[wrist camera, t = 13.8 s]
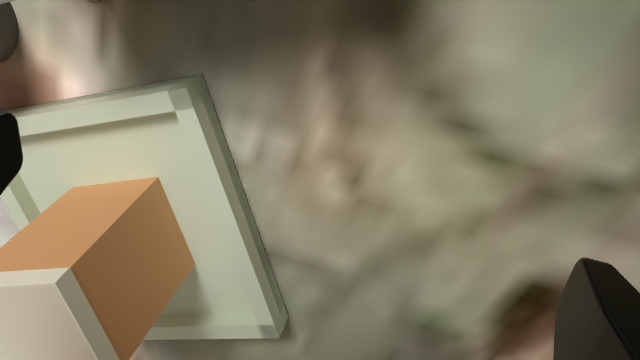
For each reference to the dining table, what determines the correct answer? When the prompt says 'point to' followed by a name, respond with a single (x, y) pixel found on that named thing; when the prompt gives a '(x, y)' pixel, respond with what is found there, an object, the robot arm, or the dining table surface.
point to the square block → (91, 273)
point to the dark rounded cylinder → (7, 31)
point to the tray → (180, 188)
